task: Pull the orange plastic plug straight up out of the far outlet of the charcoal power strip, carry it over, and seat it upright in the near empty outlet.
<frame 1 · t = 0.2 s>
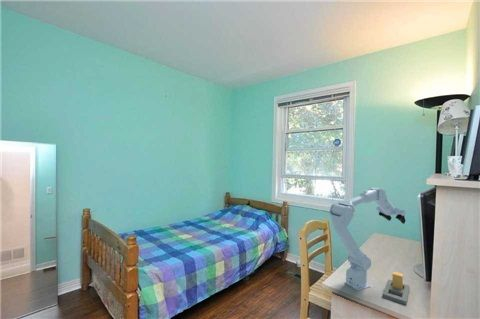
hand: (397, 220, 128), 31 cm above the table, tool tilted 45°, fingers open, 7 cm apart
power strip: (396, 292, 111), on the table
plug: (397, 289, 115), resting in power strip
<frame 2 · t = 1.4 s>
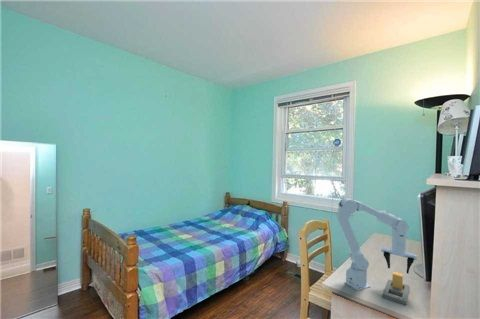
hand: (398, 270, 115), 9 cm above the table, tool pointing down, fingers open, 7 cm apart
nothing on the table moved.
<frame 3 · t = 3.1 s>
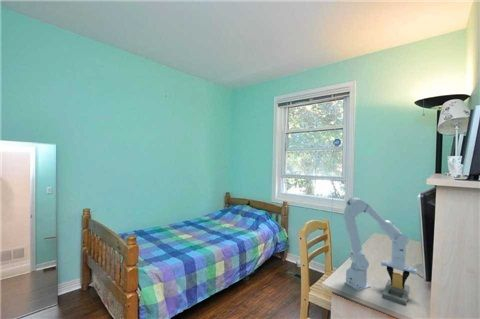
hand: (397, 284, 115), 2 cm above the table, tool pointing down, fingers closed on plug, 4 cm apart
plug: (397, 288, 115), resting in power strip, touching gripper
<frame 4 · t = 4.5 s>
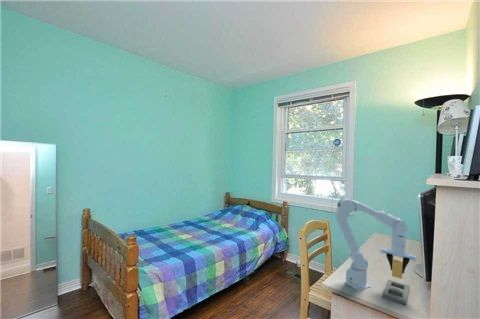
hand: (397, 271, 114), 9 cm above the table, tool pointing down, fingers closed on plug, 4 cm apart
plug: (397, 276, 114), point 7 cm above the table, touching gripper
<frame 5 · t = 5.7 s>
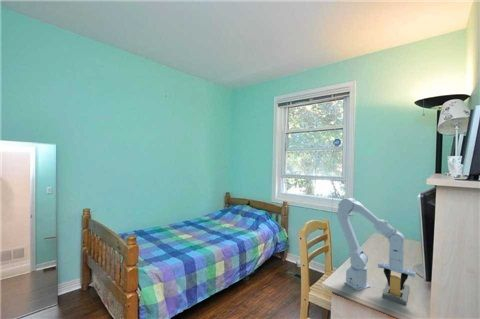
hand: (395, 287, 108), 4 cm above the table, tool pointing down, fingers closed on plug, 4 cm apart
plug: (395, 292, 108), point 2 cm above the table, touching gripper
when the fingers open (3 cm above the table, at t = 6.3 s): plug stays where it is, resting in power strip.
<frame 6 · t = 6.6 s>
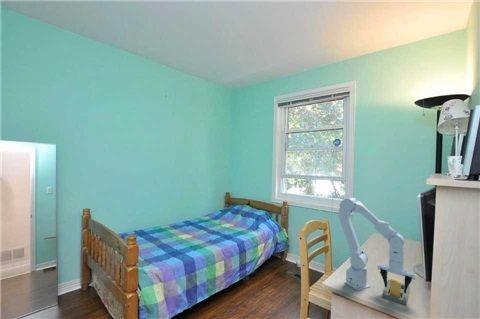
hand: (395, 289, 108), 3 cm above the table, tool pointing down, fingers open, 7 cm apart
plug: (395, 296, 108), resting in power strip
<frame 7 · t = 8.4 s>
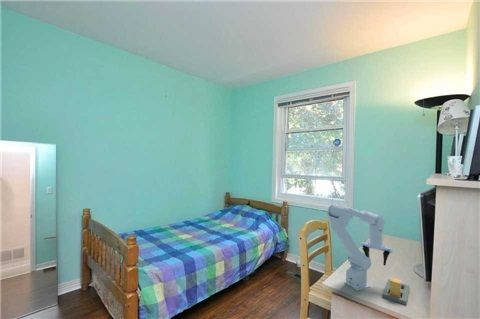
hand: (376, 262, 123), 9 cm above the table, tool pointing down, fingers open, 7 cm apart
nothing on the table moved.
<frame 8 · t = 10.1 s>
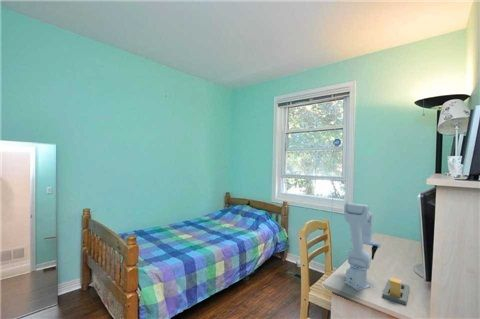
hand: (364, 257, 130), 9 cm above the table, tool pointing down, fingers open, 7 cm apart
nothing on the table moved.
at the end: plug 0.2 cm from the target spot on the power strip, point 0.0 cm above the power strip's base; plug tilted 0°; the gripper is holding nothing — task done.
